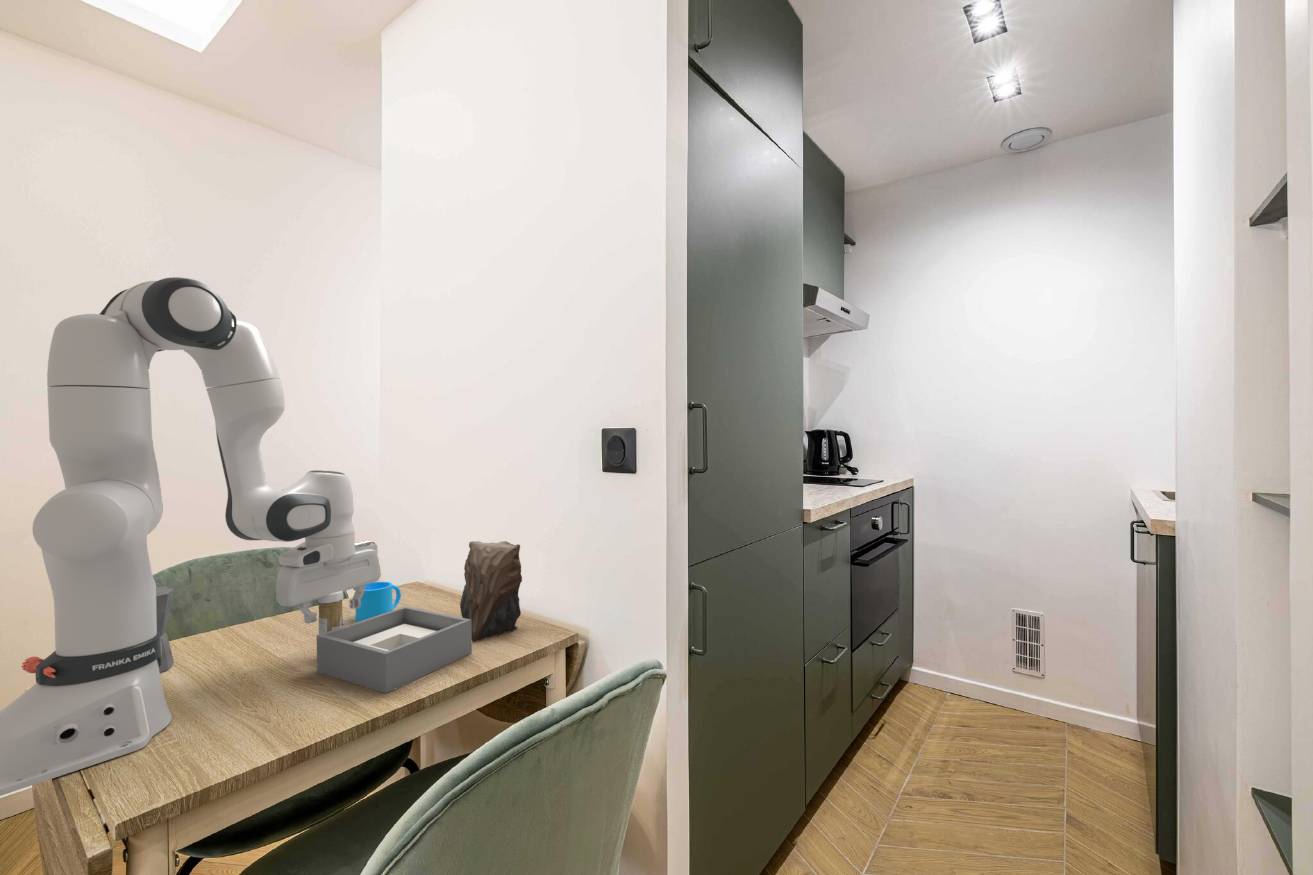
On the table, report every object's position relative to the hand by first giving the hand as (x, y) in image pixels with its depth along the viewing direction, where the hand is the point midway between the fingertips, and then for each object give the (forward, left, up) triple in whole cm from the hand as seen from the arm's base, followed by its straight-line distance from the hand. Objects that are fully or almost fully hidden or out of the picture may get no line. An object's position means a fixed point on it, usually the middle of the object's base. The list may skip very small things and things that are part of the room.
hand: (333, 614), depth 115 cm
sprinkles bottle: (-1, 0, -9) cm, 9 cm away
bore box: (+3, -15, -8) cm, 17 cm away
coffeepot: (-23, +25, -9) cm, 35 cm away
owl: (+24, -18, -9) cm, 31 cm away
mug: (+20, +13, -9) cm, 26 cm away
